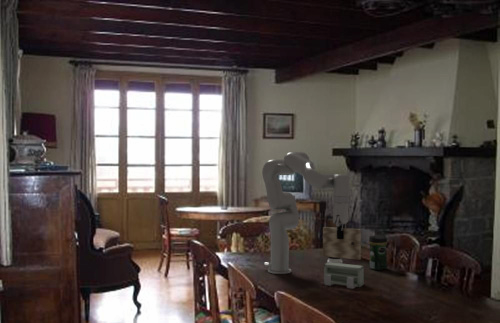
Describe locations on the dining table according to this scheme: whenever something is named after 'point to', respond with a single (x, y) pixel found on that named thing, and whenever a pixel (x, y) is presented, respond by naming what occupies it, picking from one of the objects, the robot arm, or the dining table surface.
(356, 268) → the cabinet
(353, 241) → the beige thin block
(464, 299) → the dining table surface
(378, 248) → the coffee jar
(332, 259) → the container
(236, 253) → the dining table surface
